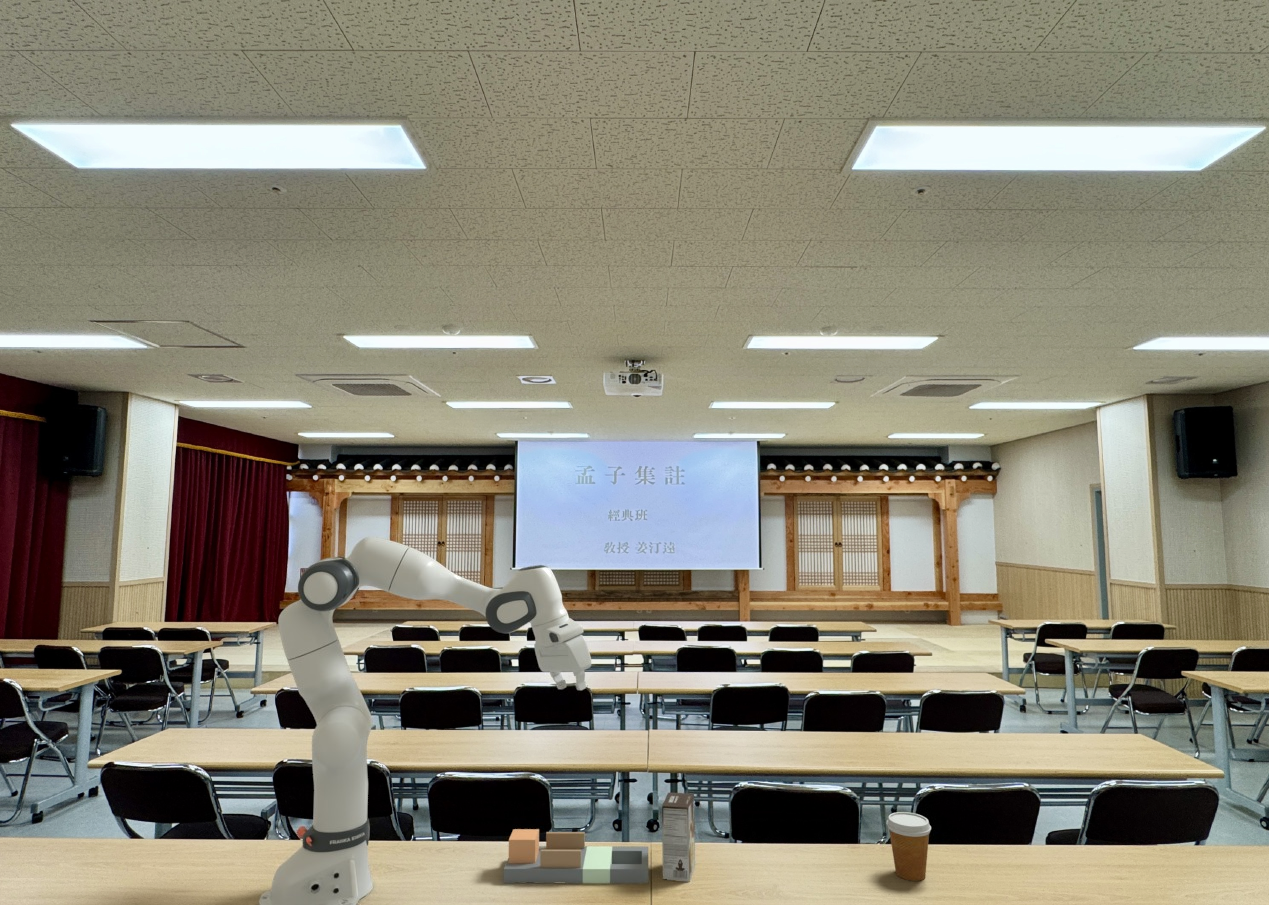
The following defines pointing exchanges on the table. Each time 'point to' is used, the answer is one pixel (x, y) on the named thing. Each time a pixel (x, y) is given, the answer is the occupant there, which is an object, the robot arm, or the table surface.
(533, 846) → the block
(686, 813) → the coffee box
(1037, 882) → the table surface
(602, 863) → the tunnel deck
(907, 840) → the disposable coffee cup
